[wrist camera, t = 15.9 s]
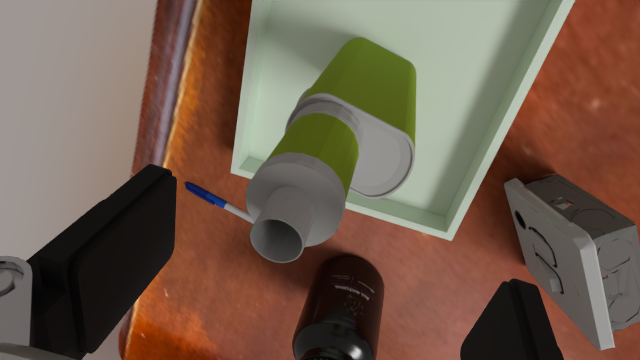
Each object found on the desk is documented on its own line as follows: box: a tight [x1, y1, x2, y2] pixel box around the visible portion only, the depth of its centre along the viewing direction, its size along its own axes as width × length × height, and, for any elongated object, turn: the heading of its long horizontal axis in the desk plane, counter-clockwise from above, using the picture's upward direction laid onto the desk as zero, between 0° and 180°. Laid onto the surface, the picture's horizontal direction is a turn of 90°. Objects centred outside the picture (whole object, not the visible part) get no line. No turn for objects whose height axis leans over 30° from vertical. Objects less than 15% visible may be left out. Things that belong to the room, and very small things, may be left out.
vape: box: [245, 37, 416, 263], centre depth 20 cm, size 4×6×20 cm, turn 65°
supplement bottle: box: [292, 256, 384, 360], centre depth 35 cm, size 7×7×12 cm
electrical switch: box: [504, 174, 640, 350], centre depth 28 cm, size 9×5×9 cm, turn 24°
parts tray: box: [231, 0, 575, 241], centre depth 28 cm, size 20×18×3 cm
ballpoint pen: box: [186, 182, 254, 224], centre depth 38 cm, size 10×1×1 cm, turn 65°
